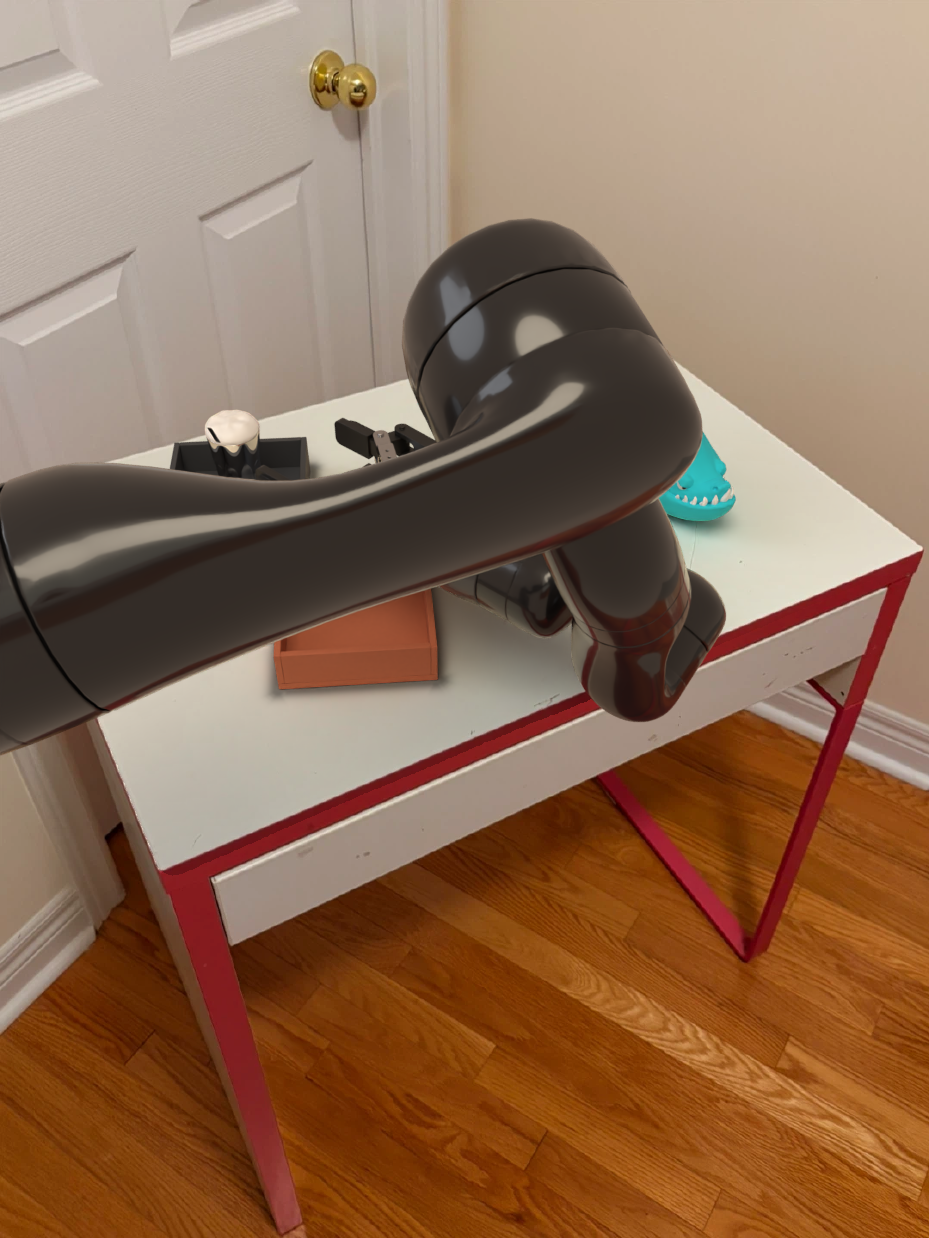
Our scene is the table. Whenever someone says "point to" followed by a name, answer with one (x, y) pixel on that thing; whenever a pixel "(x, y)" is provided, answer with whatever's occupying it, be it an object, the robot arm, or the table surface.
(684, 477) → the toy shark
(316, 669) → the terracotta bin
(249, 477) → the milkshake
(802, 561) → the table surface
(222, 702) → the table surface
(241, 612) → the robot arm
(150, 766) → the table surface
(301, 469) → the grey bin
